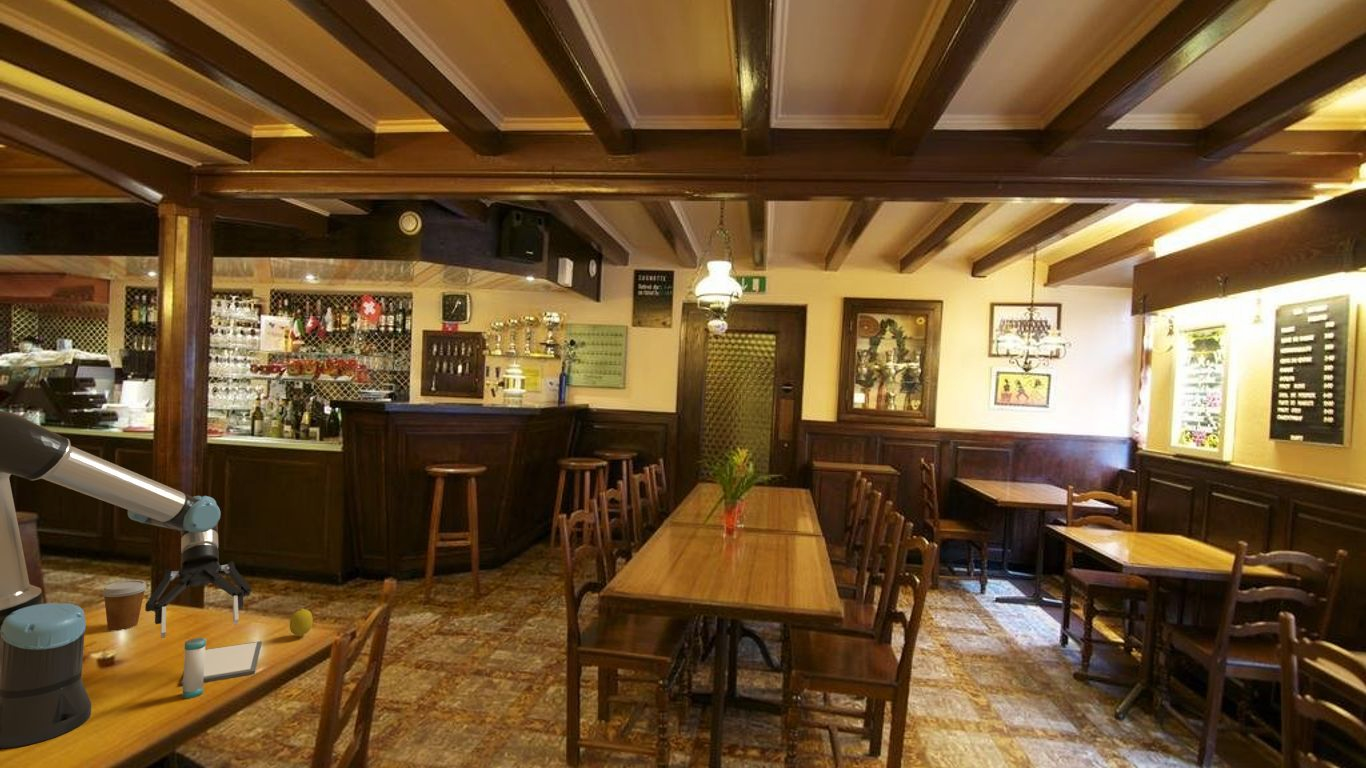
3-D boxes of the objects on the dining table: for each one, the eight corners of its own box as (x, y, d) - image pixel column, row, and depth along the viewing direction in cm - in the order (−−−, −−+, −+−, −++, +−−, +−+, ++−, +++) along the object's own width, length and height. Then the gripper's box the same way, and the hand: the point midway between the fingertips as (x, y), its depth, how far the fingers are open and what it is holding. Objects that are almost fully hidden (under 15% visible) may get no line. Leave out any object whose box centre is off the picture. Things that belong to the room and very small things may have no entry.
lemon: (314, 637, 170) (316, 608, 170) (292, 642, 166) (293, 613, 166) (308, 631, 174) (310, 603, 174) (286, 636, 170) (287, 608, 170)
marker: (180, 700, 134) (183, 645, 134) (183, 692, 137) (186, 639, 138) (201, 696, 136) (204, 642, 136) (204, 689, 139) (207, 636, 140)
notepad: (181, 686, 140) (181, 681, 140) (196, 653, 157) (196, 649, 157) (254, 673, 147) (254, 669, 147) (261, 644, 165) (261, 640, 165)
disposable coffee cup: (150, 625, 175) (152, 583, 175) (105, 635, 167) (108, 592, 167) (138, 618, 180) (140, 577, 180) (94, 627, 172) (97, 585, 172)
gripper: (257, 552, 165) (261, 624, 154) (134, 567, 149) (129, 649, 137) (260, 537, 162) (266, 609, 150) (135, 550, 145) (130, 633, 133)
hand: (200, 628), depth 144 cm, fingers open, 13 cm apart
